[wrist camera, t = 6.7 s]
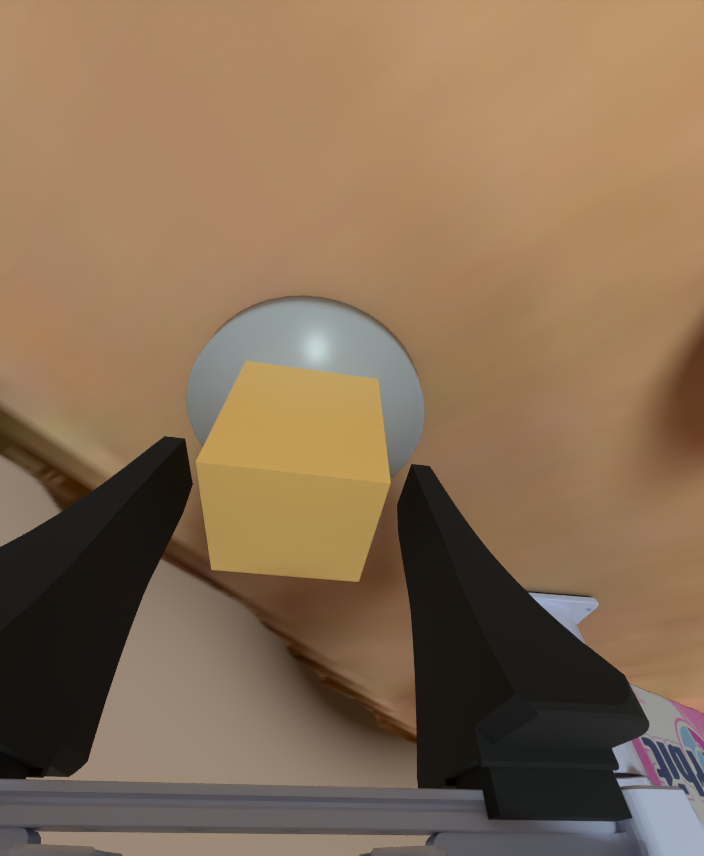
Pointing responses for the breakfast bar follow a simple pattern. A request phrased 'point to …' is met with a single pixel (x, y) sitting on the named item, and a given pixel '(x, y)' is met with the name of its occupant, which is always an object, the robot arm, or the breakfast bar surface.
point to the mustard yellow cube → (294, 473)
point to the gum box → (673, 746)
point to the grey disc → (311, 362)
